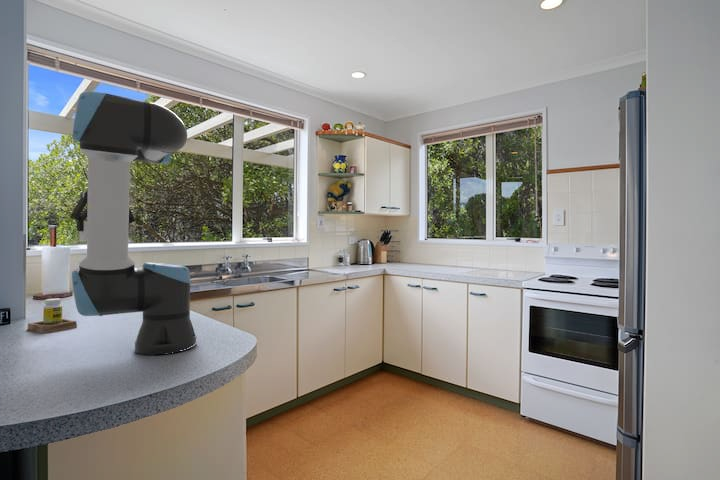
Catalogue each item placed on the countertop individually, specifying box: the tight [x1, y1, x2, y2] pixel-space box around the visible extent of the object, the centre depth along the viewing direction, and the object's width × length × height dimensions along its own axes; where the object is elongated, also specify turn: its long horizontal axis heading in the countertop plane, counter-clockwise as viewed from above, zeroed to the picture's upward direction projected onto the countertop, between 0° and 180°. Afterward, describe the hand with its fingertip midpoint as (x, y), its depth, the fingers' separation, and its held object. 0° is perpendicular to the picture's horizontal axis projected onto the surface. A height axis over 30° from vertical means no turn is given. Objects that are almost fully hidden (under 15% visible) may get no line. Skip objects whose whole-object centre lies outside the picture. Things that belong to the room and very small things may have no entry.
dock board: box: [27, 318, 78, 334], centre depth 123 cm, size 10×9×2 cm
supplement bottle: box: [42, 298, 63, 326], centre depth 123 cm, size 5×5×8 cm
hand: (104, 241), depth 130 cm, fingers open, 13 cm apart
